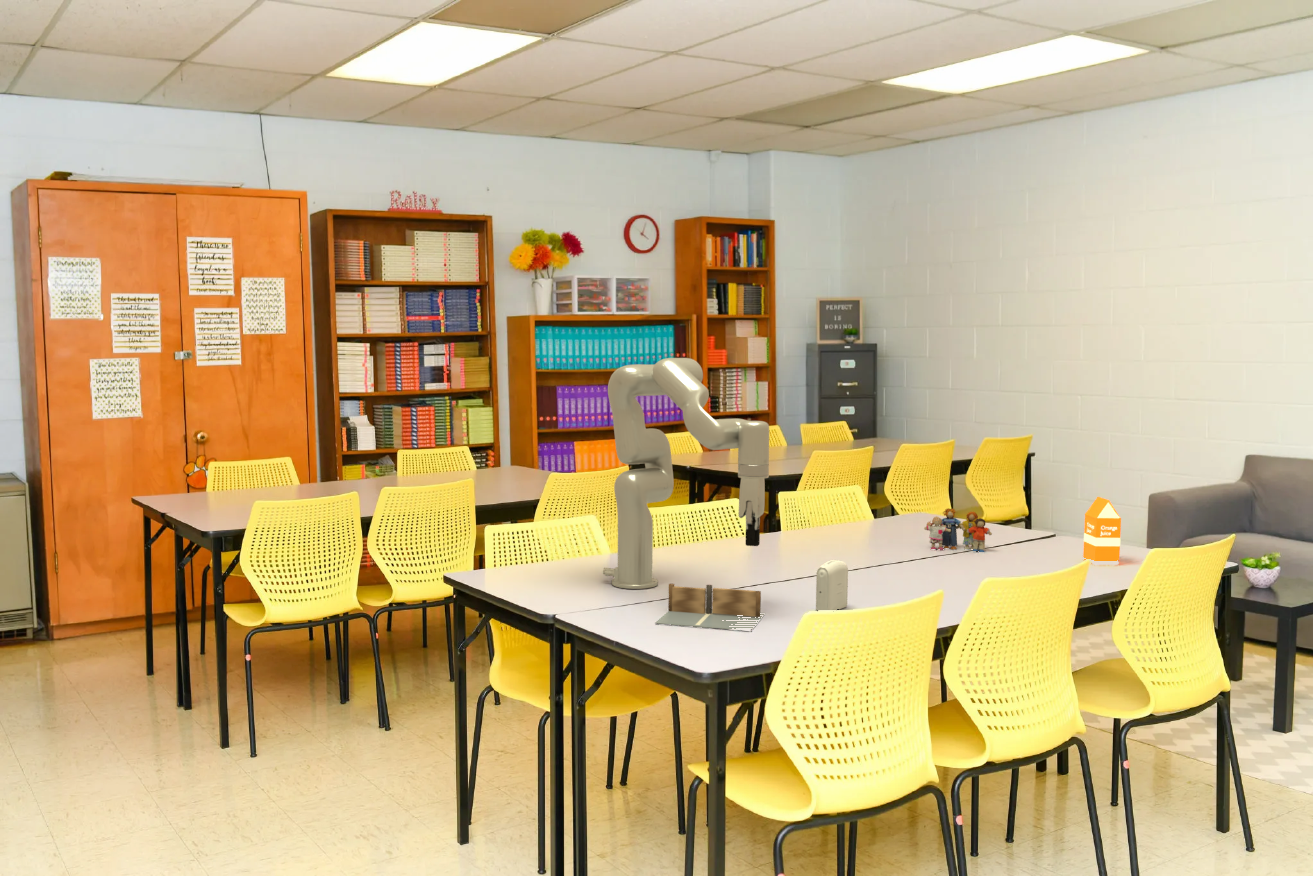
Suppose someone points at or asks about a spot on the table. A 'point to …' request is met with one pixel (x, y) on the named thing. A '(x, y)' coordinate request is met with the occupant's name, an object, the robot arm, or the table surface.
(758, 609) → the fence gate
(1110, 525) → the orange juice
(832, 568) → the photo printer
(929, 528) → the doll family
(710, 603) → the fence fixed
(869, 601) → the table surface
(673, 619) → the card
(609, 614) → the table surface
